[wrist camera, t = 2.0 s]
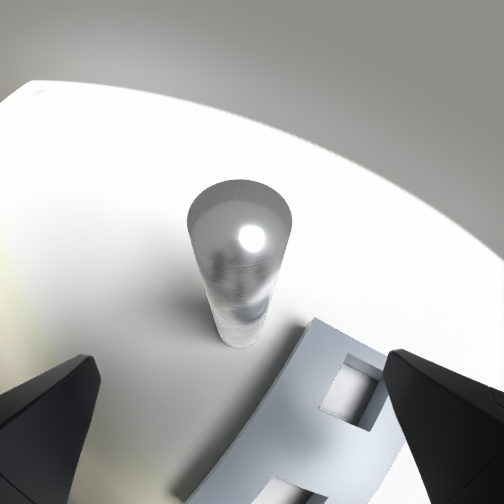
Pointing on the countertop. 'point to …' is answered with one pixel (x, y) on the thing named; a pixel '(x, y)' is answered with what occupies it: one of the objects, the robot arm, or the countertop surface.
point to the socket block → (311, 431)
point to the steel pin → (239, 253)
